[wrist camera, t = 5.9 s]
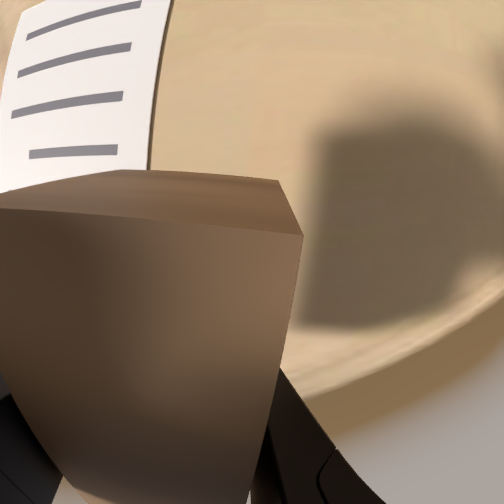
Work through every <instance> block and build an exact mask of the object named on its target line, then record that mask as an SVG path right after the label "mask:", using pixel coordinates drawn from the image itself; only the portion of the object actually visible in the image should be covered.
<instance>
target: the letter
mask: <svg viewBox="0 0 504 504" xmlns="http://www.w3.org/2000/svg"><path fill="white" fill-rule="evenodd" d="M170 3H171V0H46V1H44V2H42V3H40V4H37V5H35V6H33V7H31V8H29V9H27V10H25V11H23V12H22V14H21V17H20V20H19V23H18V26H17V29H16V32H15V36H14V39H13V43H12V46H11V50H10V54H9V58H8V63H7V67H6V72H5V77H4V82H3V88H2V94H1V100H0V193H3V192H7V191H11V190H15V189H19V188H23V187H28V186H32V185H36V184H41V183H46V182H50V181H55V180H60V179H65V178H71V177H76V176H82V175H87V174H93V173H99V172H106V171H113V170H120V169H130V170H147V159H148V145H149V133H150V123H151V113H152V105H153V97H154V89H155V82H156V75H157V69H158V62H159V57H160V51H161V45H162V40H163V35H164V30H165V25H166V20H167V16H168V11H169V7H170Z"/></svg>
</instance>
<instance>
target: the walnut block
mask: <svg viewBox="0 0 504 504" xmlns="http://www.w3.org/2000/svg"><path fill="white" fill-rule="evenodd" d="M303 236H304V235H303V233H302V231H301V229H300V226H299V224H298V222H297V220H296V218H295V215H294V213H293V211H292V209H291V207H290V205H289V202H288V200H287V198H286V196H285V194H284V192H283V190H282V188H281V185H280V183H279V181H278V180H270V179H261V178H252V177H242V176H232V175H220V174H208V173H194V172H178V171H159V170H130V169H120V170H113V171H106V172H99V173H93V174H87V175H82V176H76V177H71V178H65V179H60V180H55V181H50V182H46V183H41V184H36V185H32V186H28V187H23V188H19V189H15V190H11V191H7V192H3V193H0V372H1V374H2V377H3V379H4V381H5V383H6V385H7V387H8V389H9V391H10V393H11V395H12V397H13V399H14V401H15V403H16V404H17V406H18V408H19V410H20V412H21V413H22V415H23V417H24V419H25V420H26V422H27V424H28V425H29V427H30V429H31V430H32V432H33V433H34V435H35V436H36V438H37V440H38V441H39V443H40V444H41V446H42V447H43V448H44V450H45V451H46V453H47V454H48V456H49V457H50V458H51V460H52V461H53V462H54V464H55V465H56V466H57V468H58V469H59V470H60V472H61V473H62V474H63V475H64V477H65V478H66V479H67V480H68V482H69V483H70V484H71V485H72V486H73V488H74V489H75V490H76V491H77V492H78V493H79V495H80V496H81V497H82V498H83V499H84V500H85V501H86V502H87V503H88V504H246V502H247V498H248V495H249V491H250V488H251V484H252V480H253V477H254V473H255V469H256V465H257V462H258V458H259V454H260V450H261V446H262V442H263V438H264V434H265V430H266V426H267V421H268V417H269V413H270V409H271V404H272V400H273V395H274V391H275V386H276V382H277V377H278V373H279V368H280V363H281V358H282V353H283V349H284V344H285V339H286V333H287V328H288V323H289V318H290V312H291V307H292V302H293V296H294V290H295V285H296V279H297V273H298V267H299V261H300V255H301V249H302V242H303Z"/></svg>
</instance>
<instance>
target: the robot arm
mask: <svg viewBox="0 0 504 504" xmlns="http://www.w3.org/2000/svg"><path fill="white" fill-rule="evenodd" d="M62 477H63V474H62V473H61V472H60V470H59V469H58V468H57V466H56V465H55V464H54V462H53V461H52V460H51V458H50V457H49V456H48V454H47V453H46V451H45V450H44V448H43V447H42V446H41V444H40V443H39V441H38V440H37V438H36V436H35V435H34V433H33V432H32V430H31V429H30V427H29V425H28V424H27V422H26V420H25V419H24V417H23V415H22V413H21V412H20V410H19V408H18V406H17V404H16V403H15V401H14V399H13V397H12V395H11V393H10V391H9V389H8V387H7V385H6V383H5V381H4V379H3V377H2V374H1V372H0V504H52V502H53V499H54V496H55V494H56V492H57V489H58V487H59V484H60V482H61V480H62ZM250 493H251V504H386V503H385V502H384V501H383V500H382V499H381V498H379V496H378V495H376V494H375V493H374V492H373V491H372V490H371V489H370V488H369V486H367V484H366V483H365V482H364V481H363V480H362V479H361V478H360V477H359V476H358V475H357V473H356V472H355V471H354V470H353V468H352V467H351V466H350V465H349V464H348V462H347V461H346V460H345V458H344V457H343V456H342V454H341V453H340V452H339V450H337V449H336V446H335V445H334V444H333V442H332V441H331V440H330V438H329V437H328V435H327V434H326V433H325V431H324V430H323V429H322V427H321V426H320V424H319V423H318V422H317V420H316V419H315V417H314V416H313V415H312V413H311V412H310V410H309V409H308V408H307V406H306V405H305V403H304V402H303V400H302V399H301V397H300V396H299V395H298V393H297V392H296V390H295V389H294V387H293V386H292V384H291V383H290V382H289V380H288V379H287V377H286V376H285V374H284V373H283V371H282V370H281V368H279V373H278V377H277V382H276V386H275V391H274V395H273V400H272V404H271V409H270V413H269V417H268V421H267V426H266V430H265V434H264V438H263V442H262V446H261V450H260V454H259V458H258V462H257V465H256V469H255V473H254V477H253V480H252V484H251V488H250Z"/></svg>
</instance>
